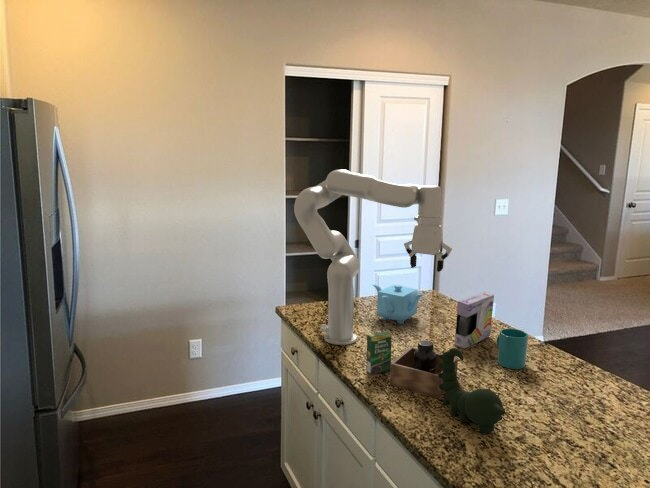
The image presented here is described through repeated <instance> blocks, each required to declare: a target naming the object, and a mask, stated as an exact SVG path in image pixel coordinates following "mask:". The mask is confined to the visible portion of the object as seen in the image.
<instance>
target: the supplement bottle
mask: <svg viewBox="0 0 650 488" xmlns="http://www.w3.org/2000/svg"><path fill="white" fill-rule="evenodd" d="M434 345H435V343H434V342H432V341H431V340H424V339H423V340H419V341H418V342H417V348H418V349H417V350H416V351H415V352H414V365H413V368H414V369H418V370H422V371H426V372H429V373H433V374H435V367H436V353H437V352H436V351H434V348H435V347H434Z"/></svg>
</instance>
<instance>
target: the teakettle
mask: <svg viewBox="0 0 650 488" xmlns="http://www.w3.org/2000/svg"><path fill="white" fill-rule="evenodd" d="M372 286H373V288H375V290H376V292H377V302H376V303H377V305H376V306H377V307H376V317H379V318H381V320H382V321H389V320H393V321H396V323H397V324H399V325H403V324H405V322H404V321H406V320H412V319H413V318H412V317H413V316H414V315H416V314H417V312H418V304H419V301H420V299H421V297H423V296H425V295H426V294H424V293H419V289H418V288H413V287H408V286H403V285H402V284H392V285H389V286H387V287H384V288H383V289H382V288H381V287H380V286H379V285H377V284H372Z"/></svg>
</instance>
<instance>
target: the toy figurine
mask: <svg viewBox="0 0 650 488" xmlns="http://www.w3.org/2000/svg"><path fill="white" fill-rule="evenodd" d="M440 354H441V355H440V359H442V361H443V362H442V363H439V367H440V368H442V370H443V372H442V373H439V374H438V377H439V378H442V379H443V383H441V384H440V385H439V389H441V390H443V389H444V391H445V397H444V398H443V399H442V404H443V405H444V406H449V405H450V409H449V413H450V415H452V416H453V417H454V416H457V415H458V419H459V421H460V422H462V423H465V422H468V421H469V420H470V422H472V423H474V424H475V425H477V426H478V430H479V432H480V433H481V434H483V435H488V434H491V433H492V432H494V430H495V429H496V428H495V425H496V424H497V423H499V422H500V421H501V420H502V419H503V415H505V414H506V413H507V412H506V411H505V410H504V405H503V403H502V400H501V398H500V397H499V395H497V393H495V391H493V390H490V389H487V388H477V389H474V390H473V391H470V392H466V391H464V390H463V389H462V388H461V387H460V383H459V381H458V380H457V377H458V376H457V374H458V373H457V374H456V372H455V371H454V370H455V367H456V366H455V363H454V357H457V358H458V359H460V360H461V361H464V355H463V352H462V350H460V349H458V347H457V348H456V347H452V348H450V349H449V350H448V351H444V352H443V353H440ZM442 354H443V355H442Z"/></svg>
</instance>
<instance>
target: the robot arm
mask: <svg viewBox="0 0 650 488" xmlns="http://www.w3.org/2000/svg"><path fill="white" fill-rule="evenodd" d="M342 196H347V197H348V196H349V197H353V198H357V199H362V200H367V201H370V202H374V203H378V204H382V205H387V206H391V207H392V206H393V207H398V208H409V207H412V206H413V205H418V207H417V208H418V210H417V211H418V214H417V216H414V218H413V220H414V221H416V223H415V224H414V228H413V233H412V239H411V240H409V241H407V242H405V243H403V246H404V247H405V251H406V253H408V256H409V257H410V260H409V262H410V263H409V264H410V268H412V269H413V268H416V267H417V259H418V258H417V255H416V254H422V255H430V256H436V257H437V258H438V260H437V261H436V262H437V264H436V265H437V267H436V272H438V273H440V272H441V271H443V270H444V269H443V268H444V260H445V259H446V258H448V257H449V255H450V254H451V253H452V251H453V248H451V247H450V246H449V245H448V244H445V243H444V237H443V229H442V225H441V224H440V222H441V204H442V188H441V187H440V186H439V185H434V184H432V185H431V184H430V185H429V184H425V185H419V184H414V183H406V184H397V183H392V182H388V181H383V180H380V179H377V178H376V177H375V176H373V175H369V174H361V173H356V172H351V171H350V170H347V169H343V168H342V169H334V170H332V171H330V172H329V173H328V174H327V176H326V178H325V180H323V181H321V182H320V183H319V184H317V185H315V186H310V187H307V188H305V189H303V190H302V191H300V193H298V195H297V197H296V198H295V201H294V204H293V210H294V215H295V218H296V220H297V222H298V224H299V226H300V227H301V229H302V230H303V233H305V235H306V237H307V239H308V240H309V242H310V244H311V245H312V247H313V249H314V251H315V252H316V254H317V255H318V256H319V257H320V258H321V259H323V260H324V259H325V260H328V259H330V260H331V261H332V262H331V263H330V265H329V266H328V268H327V272H326V276H327V277H326V278H327V286H328V287H327V288H328V316H327V317H328V324H325V323H322V324H320V329H319V330H320V331H321V332H325V333H324V335H323V340H324V341H325V342H327V343H329V344H332V345H336V346H337V345H339V346H347V345H351V344H354V343H355V342H357V340H358V335H357V334H356V333H354V305H355V304H354V303H355V301H354V299H355V294H354V291H355V290H354V289H355V288H354V277H356V275H357V274H359V271H360V268H361V267H360V266H361V265H360V264H361V263H360V261H359V259H358V257H357V255H356V254H355V252H354V250H353V248H352V247H351V245H350V244H349V242H348V241H347V239H346V238H345V236H344V235H343V234H342V233H341V232H340V231H337V230H333V229H332V230H331V229H330V228H329V227H328V225H327V223H326V222H325V220H324V219H323V217H322V216H321V215H320V214H319V212H318V210H319V209H323V208H324V207H326V206H328V205H329V204H331V203H333V202H334V201H336V200H337V199H339V198H340V197H342ZM410 246H411V247H410ZM443 249H444V250H445V252H444V253H443Z"/></svg>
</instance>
